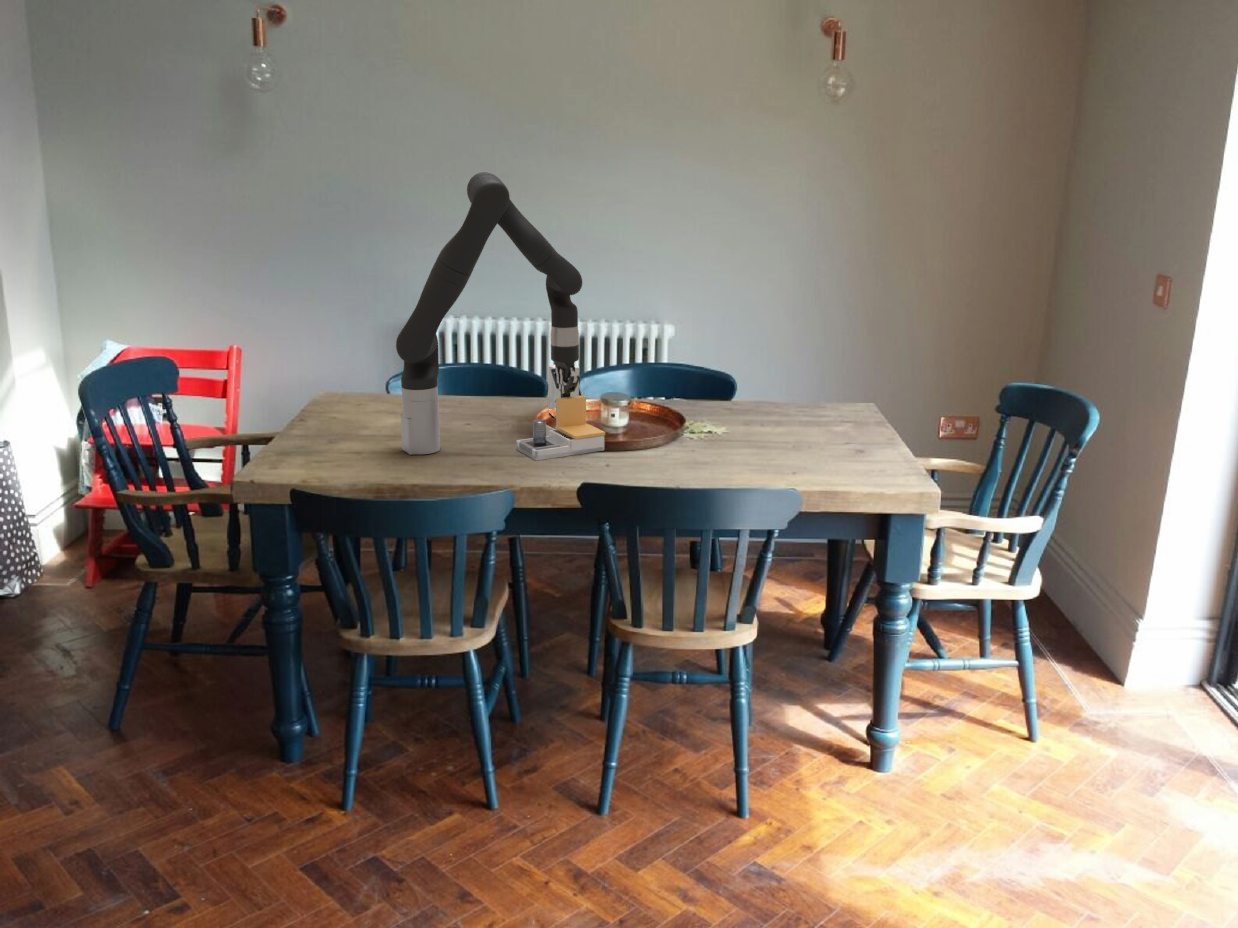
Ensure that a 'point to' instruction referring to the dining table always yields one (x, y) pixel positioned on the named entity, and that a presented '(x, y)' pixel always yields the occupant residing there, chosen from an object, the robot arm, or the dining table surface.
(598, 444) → the box
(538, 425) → the pin
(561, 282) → the robot arm
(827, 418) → the dining table surface
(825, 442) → the dining table surface
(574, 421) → the orange l-shaped block
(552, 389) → the skincare box
